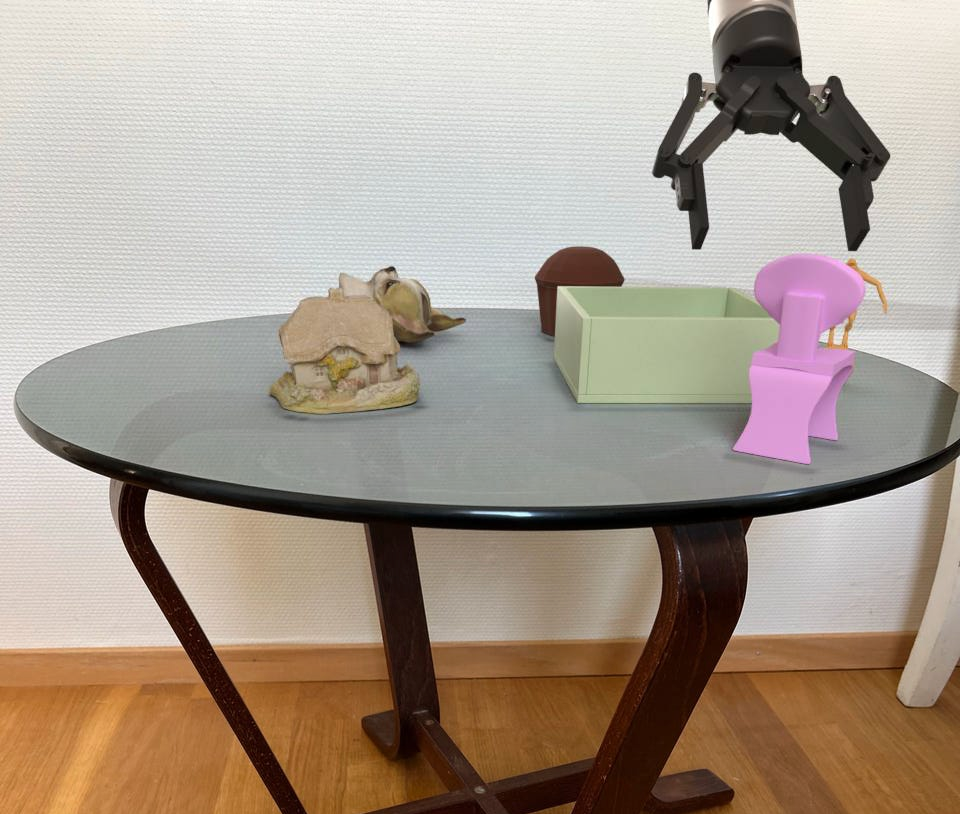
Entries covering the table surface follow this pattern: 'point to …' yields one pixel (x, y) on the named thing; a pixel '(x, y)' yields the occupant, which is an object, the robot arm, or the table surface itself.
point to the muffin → (572, 277)
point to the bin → (659, 343)
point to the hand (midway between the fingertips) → (780, 240)
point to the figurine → (851, 318)
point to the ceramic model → (342, 357)
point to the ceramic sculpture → (401, 304)
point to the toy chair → (799, 355)
